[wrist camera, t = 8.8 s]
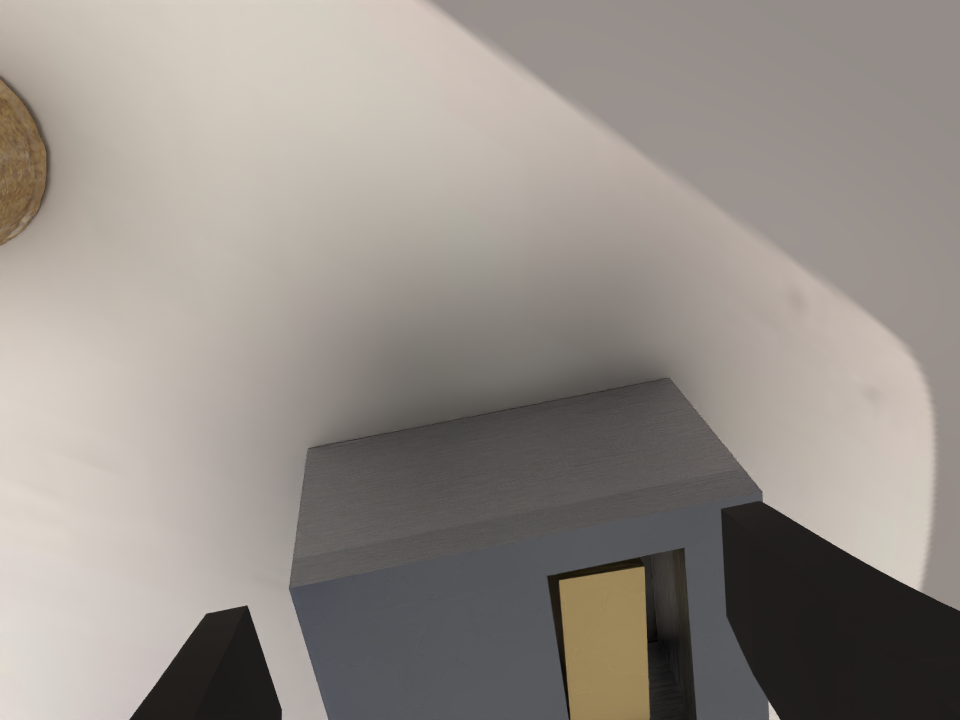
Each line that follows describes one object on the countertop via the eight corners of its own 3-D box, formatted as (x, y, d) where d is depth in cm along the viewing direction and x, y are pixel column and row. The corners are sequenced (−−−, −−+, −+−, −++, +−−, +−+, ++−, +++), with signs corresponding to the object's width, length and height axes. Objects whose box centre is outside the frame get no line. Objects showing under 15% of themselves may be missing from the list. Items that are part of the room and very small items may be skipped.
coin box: (690, 659, 27) (772, 823, 22) (381, 724, 27) (385, 909, 21) (669, 378, 23) (761, 492, 18) (307, 448, 23) (288, 588, 17)
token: (601, 602, 26) (650, 729, 22) (536, 613, 26) (572, 742, 22) (592, 460, 24) (644, 566, 20) (522, 471, 24) (559, 580, 20)
